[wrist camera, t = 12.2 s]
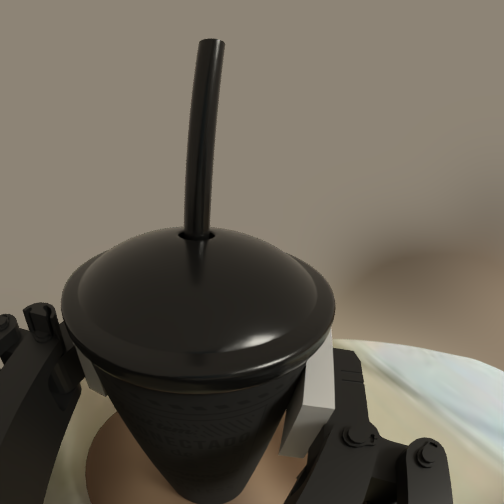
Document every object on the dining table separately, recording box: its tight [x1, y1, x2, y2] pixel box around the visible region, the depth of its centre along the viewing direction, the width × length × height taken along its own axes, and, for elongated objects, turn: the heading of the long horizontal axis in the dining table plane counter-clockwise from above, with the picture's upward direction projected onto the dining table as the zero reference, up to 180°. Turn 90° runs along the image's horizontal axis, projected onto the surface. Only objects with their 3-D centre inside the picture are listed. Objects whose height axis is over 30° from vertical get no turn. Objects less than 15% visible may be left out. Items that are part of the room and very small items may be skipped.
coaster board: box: [85, 411, 308, 504], centre depth 12 cm, size 16×16×2 cm
